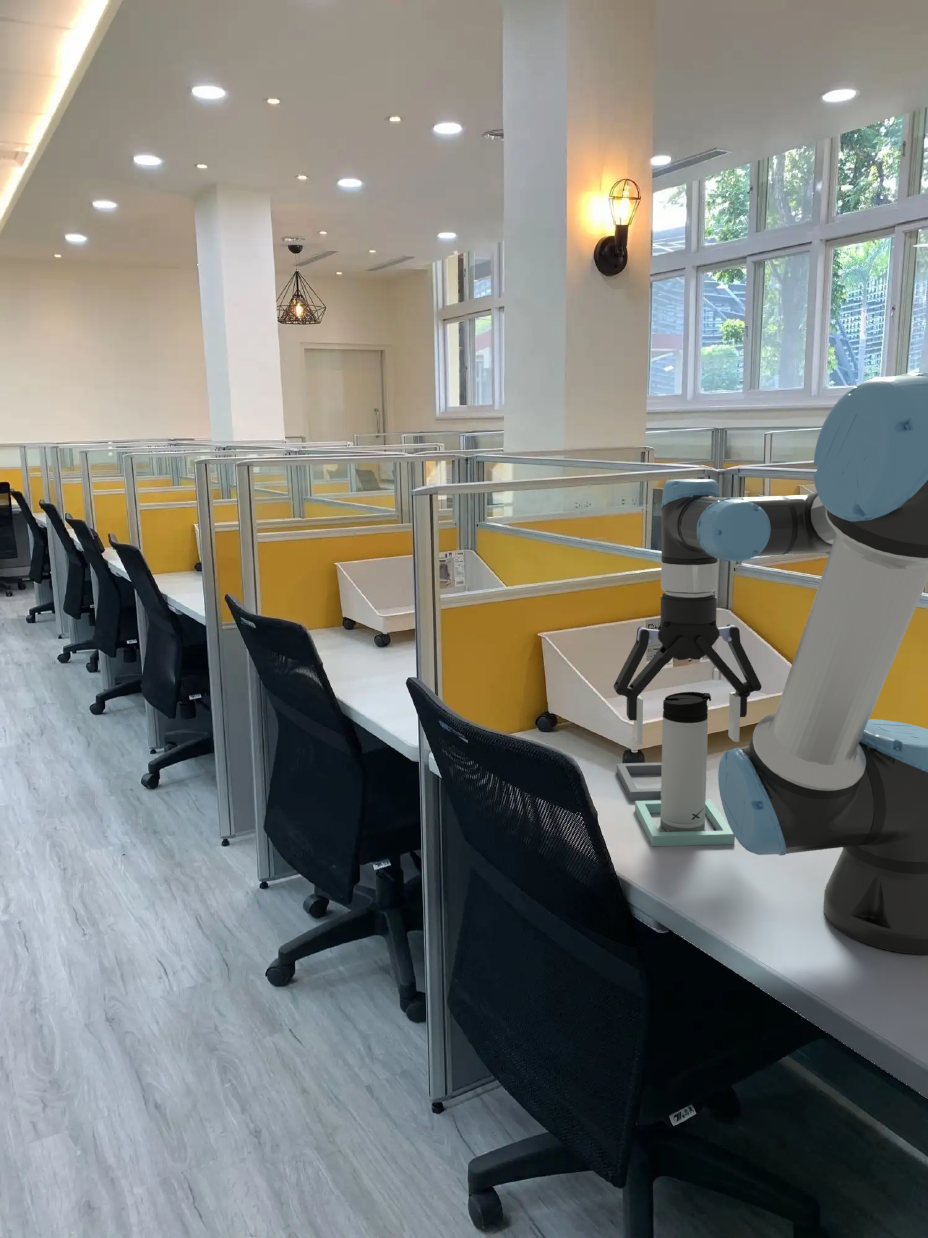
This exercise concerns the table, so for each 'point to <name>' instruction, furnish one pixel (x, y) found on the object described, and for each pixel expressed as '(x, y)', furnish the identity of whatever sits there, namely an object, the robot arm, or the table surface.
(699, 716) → the travel mug
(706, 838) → the frame
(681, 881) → the table surface
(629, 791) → the frame
